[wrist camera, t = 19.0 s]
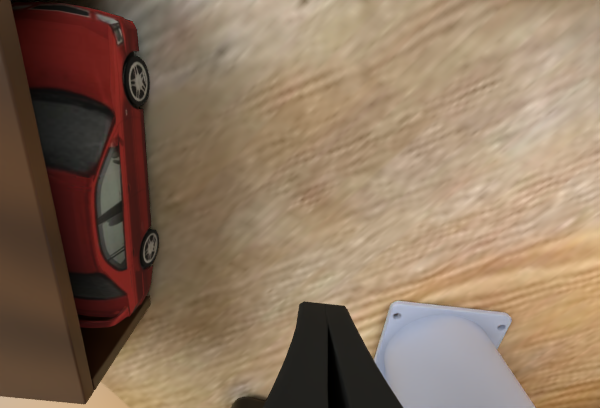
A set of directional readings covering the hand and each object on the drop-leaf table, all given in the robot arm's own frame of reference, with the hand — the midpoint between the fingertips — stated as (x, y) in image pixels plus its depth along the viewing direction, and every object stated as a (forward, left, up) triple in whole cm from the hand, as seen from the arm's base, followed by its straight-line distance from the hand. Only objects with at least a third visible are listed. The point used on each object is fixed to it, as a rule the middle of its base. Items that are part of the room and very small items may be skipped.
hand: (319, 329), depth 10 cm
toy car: (+1, +11, -10) cm, 15 cm away
